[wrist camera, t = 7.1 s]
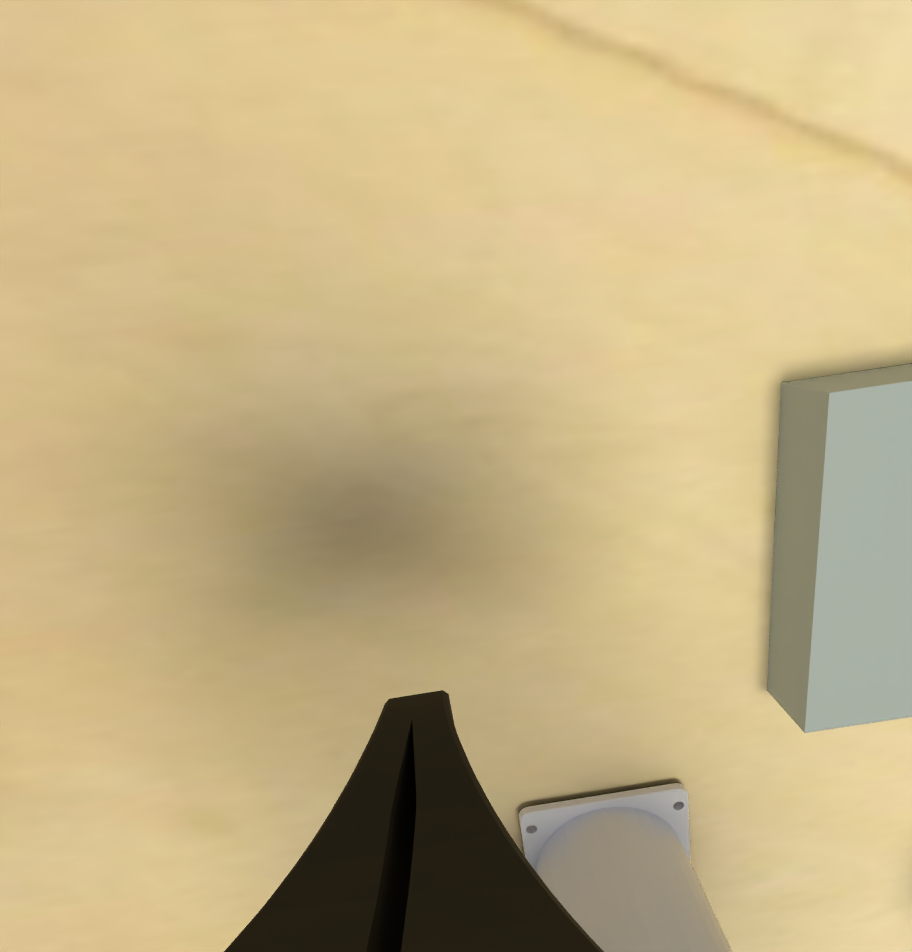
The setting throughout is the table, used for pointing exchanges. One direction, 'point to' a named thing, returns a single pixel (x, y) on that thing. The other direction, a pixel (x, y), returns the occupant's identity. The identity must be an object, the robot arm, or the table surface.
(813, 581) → the door
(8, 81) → the table surface
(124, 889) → the table surface
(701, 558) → the table surface
